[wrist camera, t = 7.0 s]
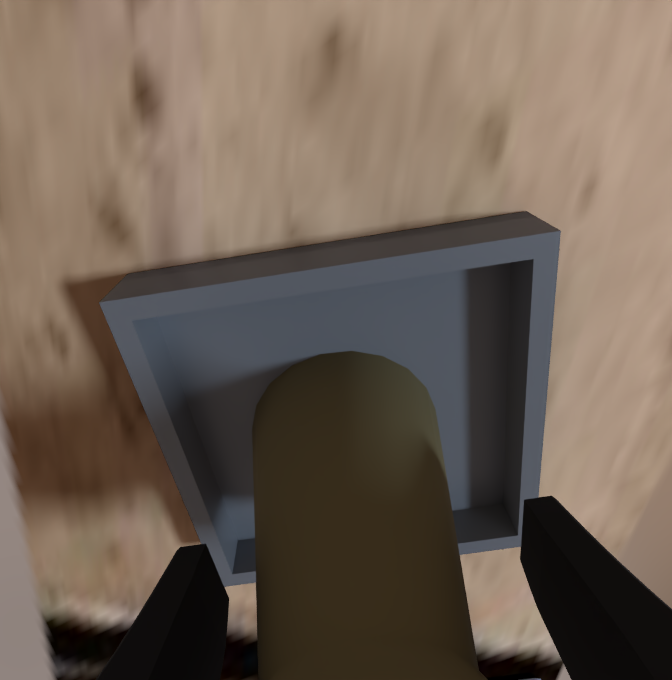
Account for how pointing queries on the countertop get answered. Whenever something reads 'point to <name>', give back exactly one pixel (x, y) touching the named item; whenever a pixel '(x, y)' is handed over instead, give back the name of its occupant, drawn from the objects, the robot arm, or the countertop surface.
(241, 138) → the countertop surface
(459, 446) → the tray
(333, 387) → the cork
